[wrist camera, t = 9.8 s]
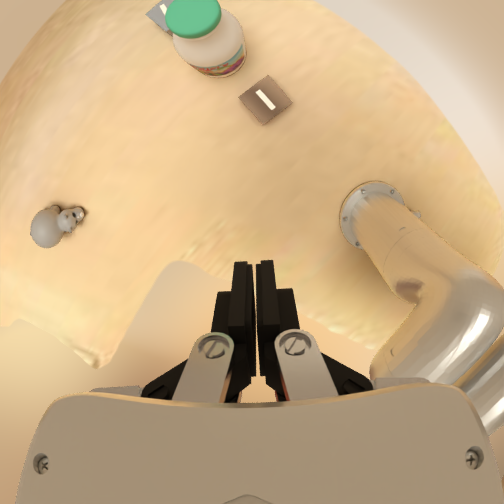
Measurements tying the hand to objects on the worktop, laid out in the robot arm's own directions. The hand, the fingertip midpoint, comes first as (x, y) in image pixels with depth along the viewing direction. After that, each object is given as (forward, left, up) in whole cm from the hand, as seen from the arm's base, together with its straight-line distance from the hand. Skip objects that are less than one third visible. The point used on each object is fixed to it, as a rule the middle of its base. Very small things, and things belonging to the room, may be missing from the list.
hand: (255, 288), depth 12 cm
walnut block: (-2, -9, -32) cm, 33 cm away
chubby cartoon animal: (+37, +6, -32) cm, 50 cm away
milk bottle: (+4, -17, -32) cm, 37 cm away
